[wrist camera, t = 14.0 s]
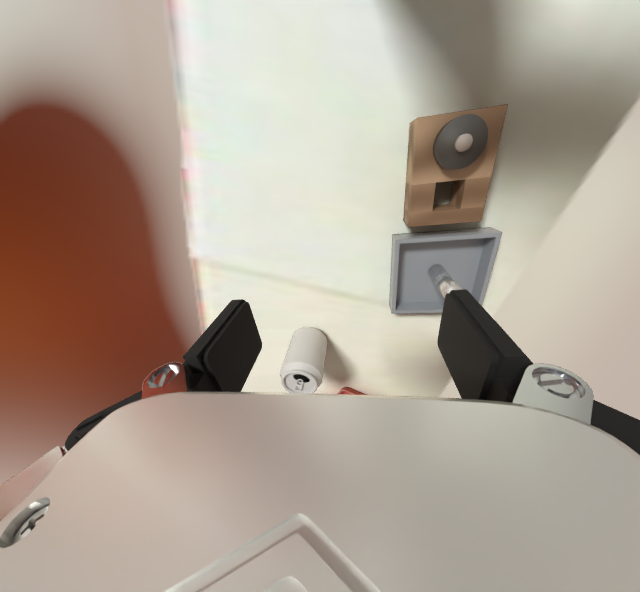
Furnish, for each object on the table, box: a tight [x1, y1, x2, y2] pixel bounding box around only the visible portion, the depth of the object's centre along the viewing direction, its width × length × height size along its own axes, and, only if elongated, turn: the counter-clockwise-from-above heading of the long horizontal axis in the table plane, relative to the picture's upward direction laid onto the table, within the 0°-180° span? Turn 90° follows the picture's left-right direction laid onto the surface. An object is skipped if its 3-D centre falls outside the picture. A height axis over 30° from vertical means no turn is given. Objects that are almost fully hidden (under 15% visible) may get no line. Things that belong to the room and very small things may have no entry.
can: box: [280, 327, 327, 394], centre depth 44 cm, size 8×8×12 cm
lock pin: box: [428, 264, 462, 298], centre depth 33 cm, size 2×2×10 cm
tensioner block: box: [403, 104, 508, 227], centre depth 28 cm, size 12×9×6 cm
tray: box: [389, 227, 502, 314], centre depth 37 cm, size 13×14×3 cm
